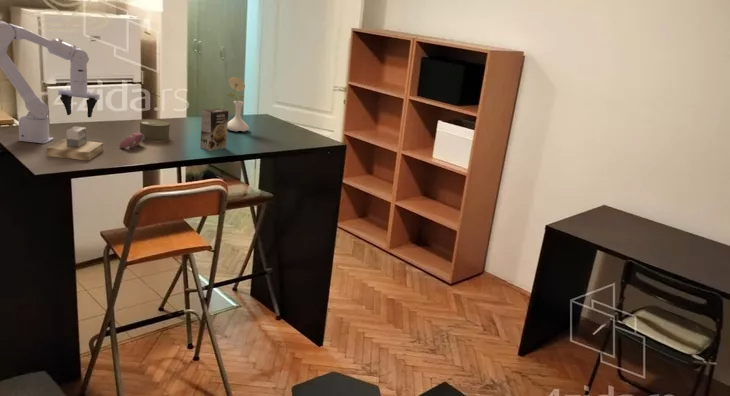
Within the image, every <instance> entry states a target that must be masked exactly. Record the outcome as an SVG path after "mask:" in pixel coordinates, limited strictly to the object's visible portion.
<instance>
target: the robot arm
mask: <svg viewBox="0 0 730 396" xmlns="http://www.w3.org/2000/svg"><path fill="white" fill-rule="evenodd" d="M13 40H15V41H20V40H25V41H26V40H27V42H31V43H33V44H36V45H39V46H42V47H44V48H46V49H47V51H48V52H49V54H51V55H54V56H56V57H59V58H61V59H64V60H66V61H69V62H70V68H69V69H70V70H69V71H70V81H69V82H70V90H69V89H57V90H58V91H57V95H58V96H60V100H61V102H62V104H63V107H64V108H65V111H66V115H67V116H70V115H71V114H72V100H73V99H72V98H73V97H74V98H75V97H76V98H83V99H86V101H85V102H86V106H87V118H89V119H90V118H92V117H93V116H92V115H93V112H94V108H95V105H96V104H97V102H98V100H100V94H99V93H94V92H90V91H89V92H88V69H87V66H88V65H87V64H88V63H89V62H90V61H89V60H90V57H89V56H88V53H87V52H86V51H85V50H83V49H81V48H79V47H77V45H75V44H69V43H67V42H64V39H62V38H55V37H54V38H52V39H49V38H47V37H44V36H42V35H40V34H38V33H36V32H33V31H31V30H29V29H26V28H24V27H22V26H19V25H16V24H14V23H13V24H12V23H7V22H6V21H4V20H0V69H1V71H2V72H3V74H4V75H5V76H6V77H7V79H8V80H9V82H10V83H11V84H12V86H13V87H14V89H15V90H16V92H17V93H18V94H19V96H20V97H21V98H22V100H23V102H24V104H25V108H26V110H27V111H28V112H27V114H26V115H21V116H20V117H19V120H18V141H20V142H27V143H36V144H37V143H38V144H47V143H49V142H51V141H53V140H54V137H50V123H49V122H50V121H49V119H50V118H49V113H50V108H49V106H48V105H47V103H45V102H44V101H43V99H41V98H40V97H39V96H38V95H37V94H36V93H35V91H34V90H33V88H32V87H31V85H30V84H29V83H28V82H27V80H26V79H25V77H24V76H23V75H22V73H21V71H20V70H19V69H18V67H17V66H16V65H15V63H14V62H13V60H12V59H11V58H10V56H9V55H8V54H7V51H8V48H9V46H10V44H11V43H12V41H13Z"/></svg>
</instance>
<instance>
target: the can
mask: <svg viewBox="0 0 730 396" xmlns="http://www.w3.org/2000/svg"><path fill="white" fill-rule="evenodd" d="M170 125H171V123H170V122H169V121H167V120H163V119H158V118H155V119H154V118H145V119H141V120H139V132H140V133H141V134H143V135H144V136H145V137H144V139H143V140H142V141H148V142H156V143H157V142H166V141H169V139H170Z"/></svg>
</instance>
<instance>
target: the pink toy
mask: <svg viewBox="0 0 730 396" xmlns="http://www.w3.org/2000/svg"><path fill="white" fill-rule="evenodd" d="M144 137H145V136H144V135H143V134H141V133H140V131H138V132H134V133H131V134H130V135H128V136H127V137H126V138H125V139H124V140H123V141H121V142H119V148H121V149H125V148H128V147H129V148H131V149H132V148H134V146H135V147H138V146H139V145H140V143H142V141H144V140H143V139H144Z"/></svg>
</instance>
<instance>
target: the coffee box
mask: <svg viewBox="0 0 730 396" xmlns="http://www.w3.org/2000/svg"><path fill="white" fill-rule="evenodd" d="M228 122H229V110H226V109H221V108H207V109H202V112H201V126H200V127H201V129H200V142H199V143H200V146H199V148H201V149H203V150H206V151H209V152H211V151H218V149H219V150H222V149H221V148H225V149H226V148H227V140H228V129H227V126H228Z"/></svg>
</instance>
